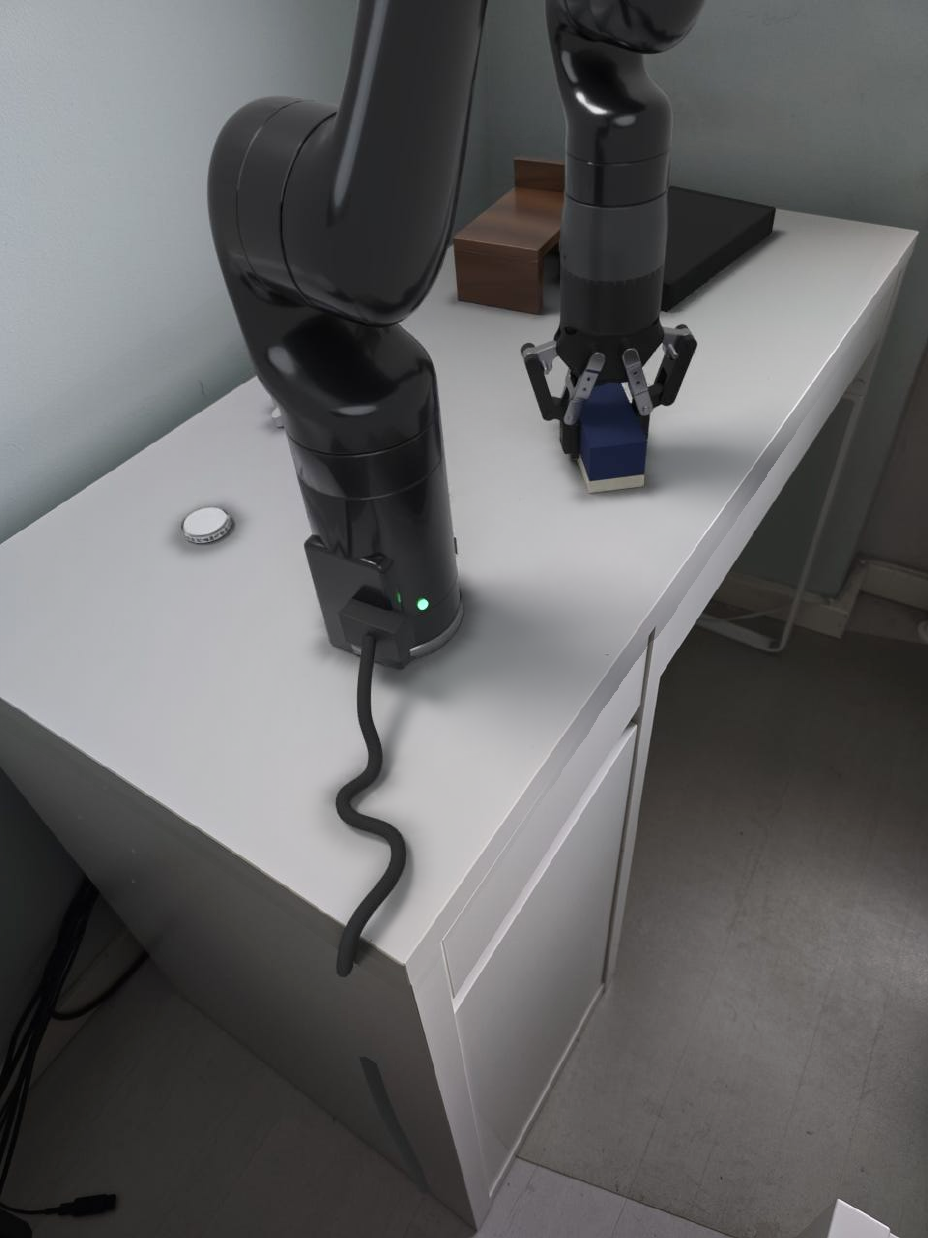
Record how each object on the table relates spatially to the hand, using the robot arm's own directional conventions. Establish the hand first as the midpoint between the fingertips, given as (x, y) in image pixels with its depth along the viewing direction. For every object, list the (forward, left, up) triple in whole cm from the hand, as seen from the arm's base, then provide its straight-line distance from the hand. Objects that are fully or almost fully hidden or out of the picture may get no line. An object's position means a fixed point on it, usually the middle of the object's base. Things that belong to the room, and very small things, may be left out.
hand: (603, 449), depth 75 cm
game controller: (-2, +28, -1) cm, 28 cm away
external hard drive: (+39, +8, -1) cm, 40 cm away
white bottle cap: (-22, +26, -1) cm, 34 cm away
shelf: (+29, +21, -1) cm, 36 cm away
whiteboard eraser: (0, 0, -1) cm, 1 cm away
